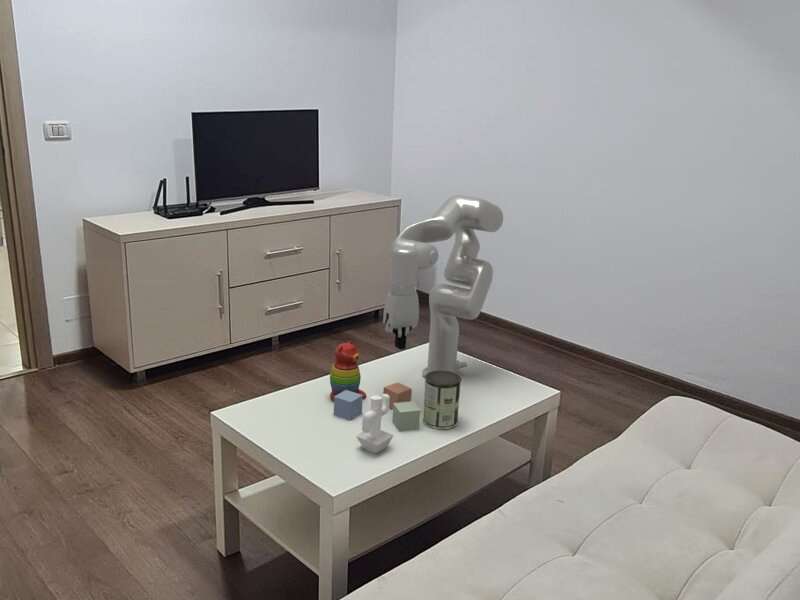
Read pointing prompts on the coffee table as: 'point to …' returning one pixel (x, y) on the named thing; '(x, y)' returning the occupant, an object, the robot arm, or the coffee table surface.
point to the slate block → (348, 405)
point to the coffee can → (441, 399)
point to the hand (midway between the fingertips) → (400, 347)
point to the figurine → (375, 425)
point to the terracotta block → (398, 393)
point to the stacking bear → (345, 371)
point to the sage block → (406, 416)
